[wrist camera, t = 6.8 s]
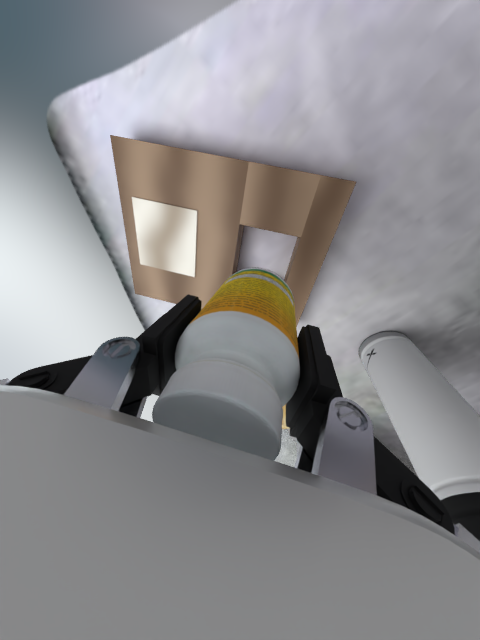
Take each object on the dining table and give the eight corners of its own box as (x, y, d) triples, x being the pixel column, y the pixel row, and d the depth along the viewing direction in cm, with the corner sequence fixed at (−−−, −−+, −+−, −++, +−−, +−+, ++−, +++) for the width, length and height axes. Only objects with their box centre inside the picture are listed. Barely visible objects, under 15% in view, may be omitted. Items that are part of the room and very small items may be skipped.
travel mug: (348, 342, 27) (453, 569, 10) (403, 323, 24) (672, 597, 7) (364, 370, 29) (472, 598, 12) (416, 356, 26) (649, 629, 9)
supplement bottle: (291, 335, 14) (298, 495, 6) (224, 331, 16) (159, 464, 8) (297, 264, 12) (321, 389, 4) (215, 265, 13) (99, 364, 5)
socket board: (346, 184, 18) (357, 181, 15) (292, 321, 27) (293, 334, 24) (132, 143, 20) (108, 134, 17) (148, 285, 28) (134, 294, 26)
